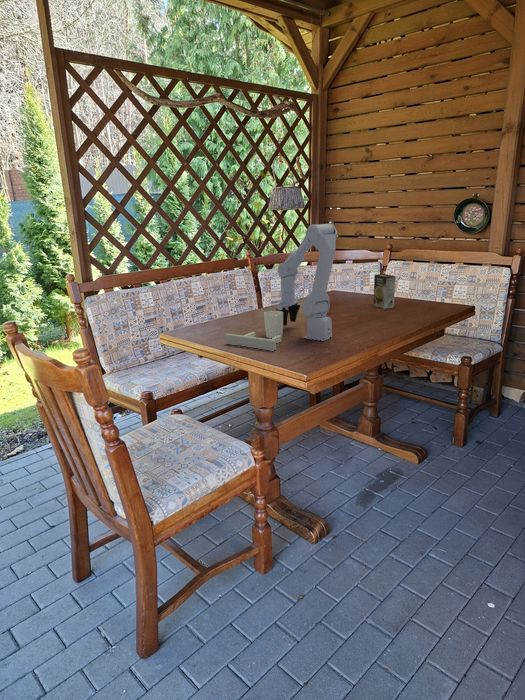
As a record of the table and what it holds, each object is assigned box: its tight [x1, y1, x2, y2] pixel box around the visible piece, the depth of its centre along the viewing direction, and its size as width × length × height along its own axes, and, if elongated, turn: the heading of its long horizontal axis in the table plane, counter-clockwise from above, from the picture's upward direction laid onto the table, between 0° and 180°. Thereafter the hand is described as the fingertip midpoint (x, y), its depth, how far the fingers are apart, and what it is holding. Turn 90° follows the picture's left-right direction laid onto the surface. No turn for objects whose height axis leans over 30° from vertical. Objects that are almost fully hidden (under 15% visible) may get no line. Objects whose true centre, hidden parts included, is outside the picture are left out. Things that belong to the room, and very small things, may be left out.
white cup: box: [263, 310, 284, 339], centre depth 191 cm, size 8×8×10 cm
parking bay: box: [224, 331, 282, 352], centre depth 182 cm, size 22×13×4 cm, turn 57°
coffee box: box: [373, 273, 396, 310], centre depth 238 cm, size 9×6×16 cm
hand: (288, 323), depth 201 cm, fingers open, 7 cm apart
